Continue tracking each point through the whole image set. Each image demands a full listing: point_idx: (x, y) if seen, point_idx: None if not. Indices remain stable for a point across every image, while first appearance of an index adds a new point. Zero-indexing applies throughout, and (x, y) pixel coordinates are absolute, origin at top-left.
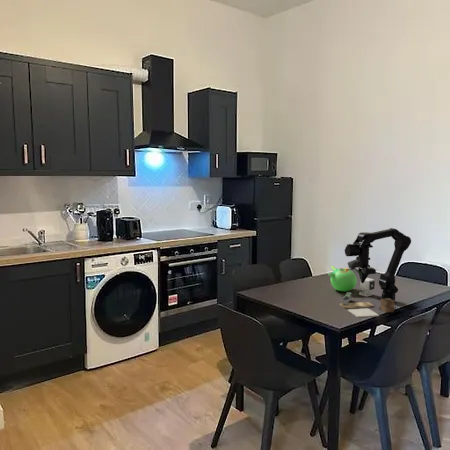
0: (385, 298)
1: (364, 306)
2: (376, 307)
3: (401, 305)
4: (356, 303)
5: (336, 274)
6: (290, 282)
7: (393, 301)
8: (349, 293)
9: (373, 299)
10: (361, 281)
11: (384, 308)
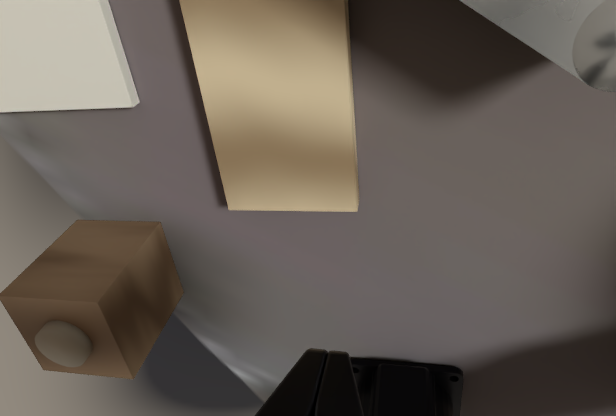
0: (67, 337)
1: (206, 96)
2: (223, 220)
3: None
4: (303, 31)
5: None
6: None
7: (40, 358)
8: (572, 25)
9: (507, 326)
10: (308, 377)
11: (71, 240)
